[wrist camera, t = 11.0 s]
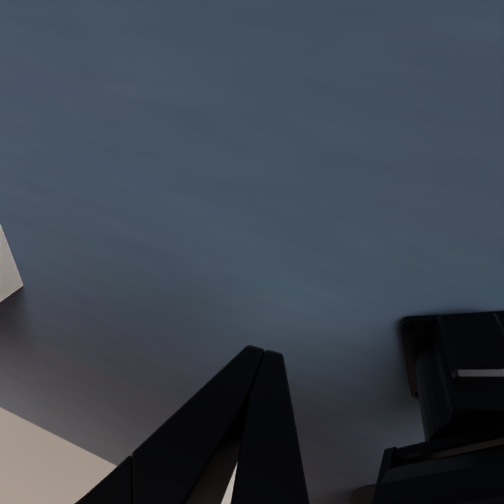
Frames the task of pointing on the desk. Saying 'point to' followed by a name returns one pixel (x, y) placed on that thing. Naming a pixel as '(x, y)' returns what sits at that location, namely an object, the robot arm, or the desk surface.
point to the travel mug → (364, 495)
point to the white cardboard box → (7, 270)
